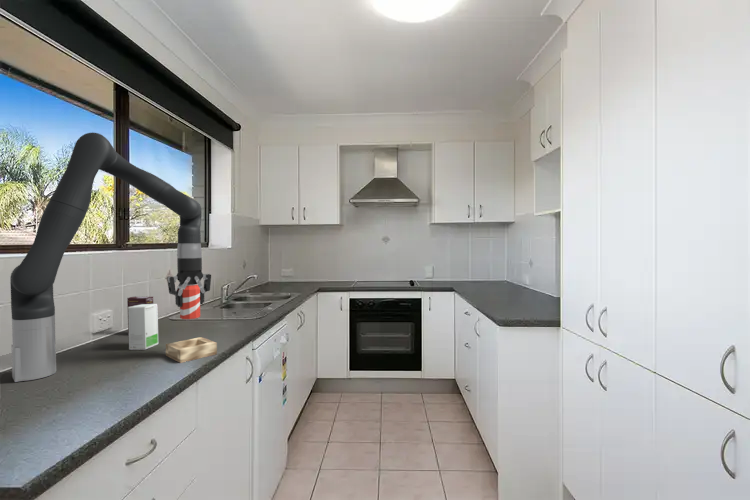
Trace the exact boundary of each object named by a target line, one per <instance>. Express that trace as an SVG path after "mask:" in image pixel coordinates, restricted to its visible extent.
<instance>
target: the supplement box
mask: <svg viewBox="0 0 750 500" xmlns="http://www.w3.org/2000/svg"><path fill="white" fill-rule="evenodd" d="M126 300H127V308H128V307H131V306H136V305H141V304H154V296H130V297H127V299H126ZM127 334H128V336H129V320H128V319H127Z"/></svg>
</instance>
